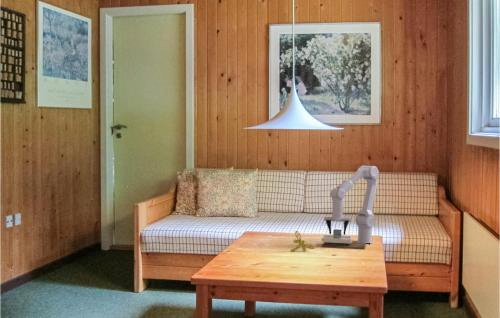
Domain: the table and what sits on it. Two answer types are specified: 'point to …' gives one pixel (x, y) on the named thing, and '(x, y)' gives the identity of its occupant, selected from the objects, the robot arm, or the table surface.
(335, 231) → the block
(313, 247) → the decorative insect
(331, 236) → the shallow rimmed tray
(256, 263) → the table surface
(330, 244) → the track board
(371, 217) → the robot arm
